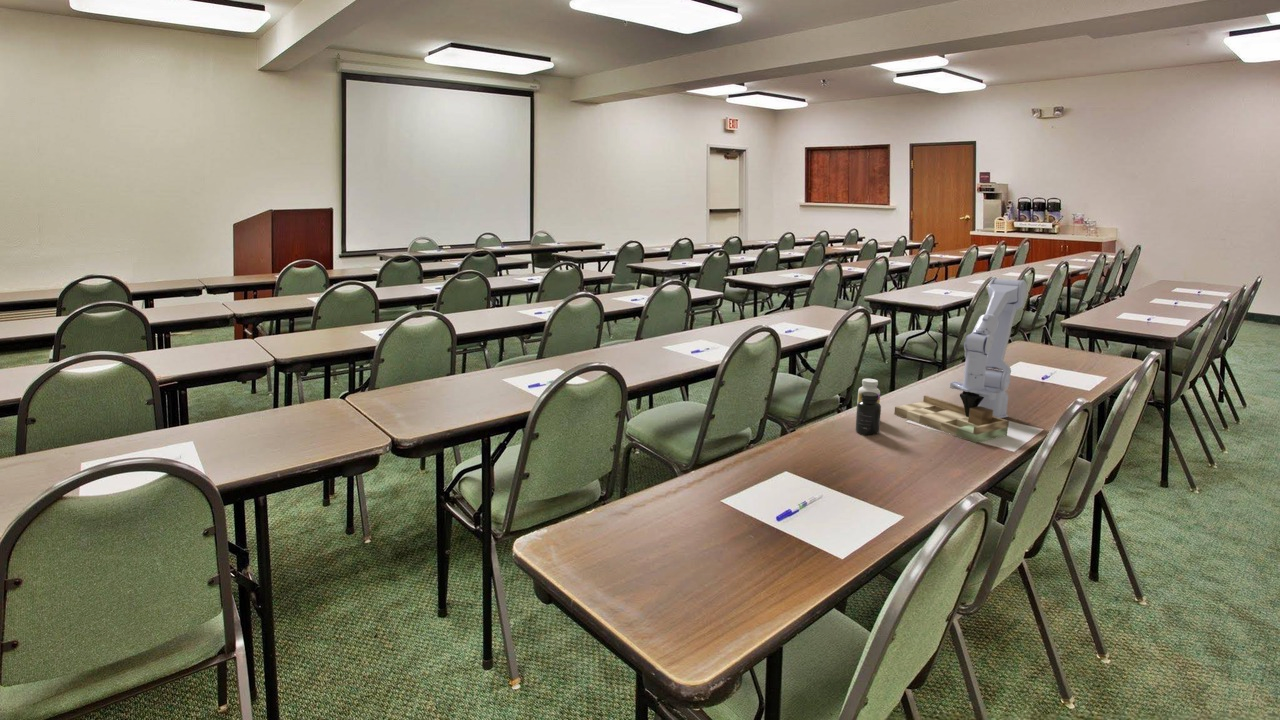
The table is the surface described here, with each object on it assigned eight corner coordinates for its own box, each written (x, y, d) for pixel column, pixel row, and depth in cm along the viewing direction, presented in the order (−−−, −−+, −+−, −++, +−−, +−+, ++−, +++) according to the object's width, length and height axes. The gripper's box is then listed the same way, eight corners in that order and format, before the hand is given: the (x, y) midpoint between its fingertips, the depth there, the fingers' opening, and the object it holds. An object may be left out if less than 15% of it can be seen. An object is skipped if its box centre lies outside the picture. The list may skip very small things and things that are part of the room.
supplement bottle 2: (859, 427, 217) (862, 389, 214) (881, 431, 213) (885, 392, 210) (851, 433, 211) (854, 394, 208) (875, 437, 207) (878, 398, 205)
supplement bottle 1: (879, 423, 220) (882, 383, 217) (856, 422, 221) (860, 382, 218) (876, 417, 226) (879, 378, 223) (855, 415, 228) (858, 377, 225)
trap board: (924, 408, 236) (925, 395, 235) (1006, 435, 210) (1008, 420, 209) (894, 414, 229) (895, 400, 228) (975, 442, 203) (977, 427, 202)
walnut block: (978, 420, 216) (980, 406, 215) (991, 424, 212) (993, 410, 211) (968, 422, 214) (969, 407, 213) (980, 426, 210) (982, 412, 209)
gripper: (945, 369, 217) (940, 411, 220) (987, 380, 205) (981, 425, 208) (960, 366, 220) (956, 408, 224) (1003, 377, 208) (997, 421, 211)
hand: (969, 416), depth 216 cm, fingers closed
